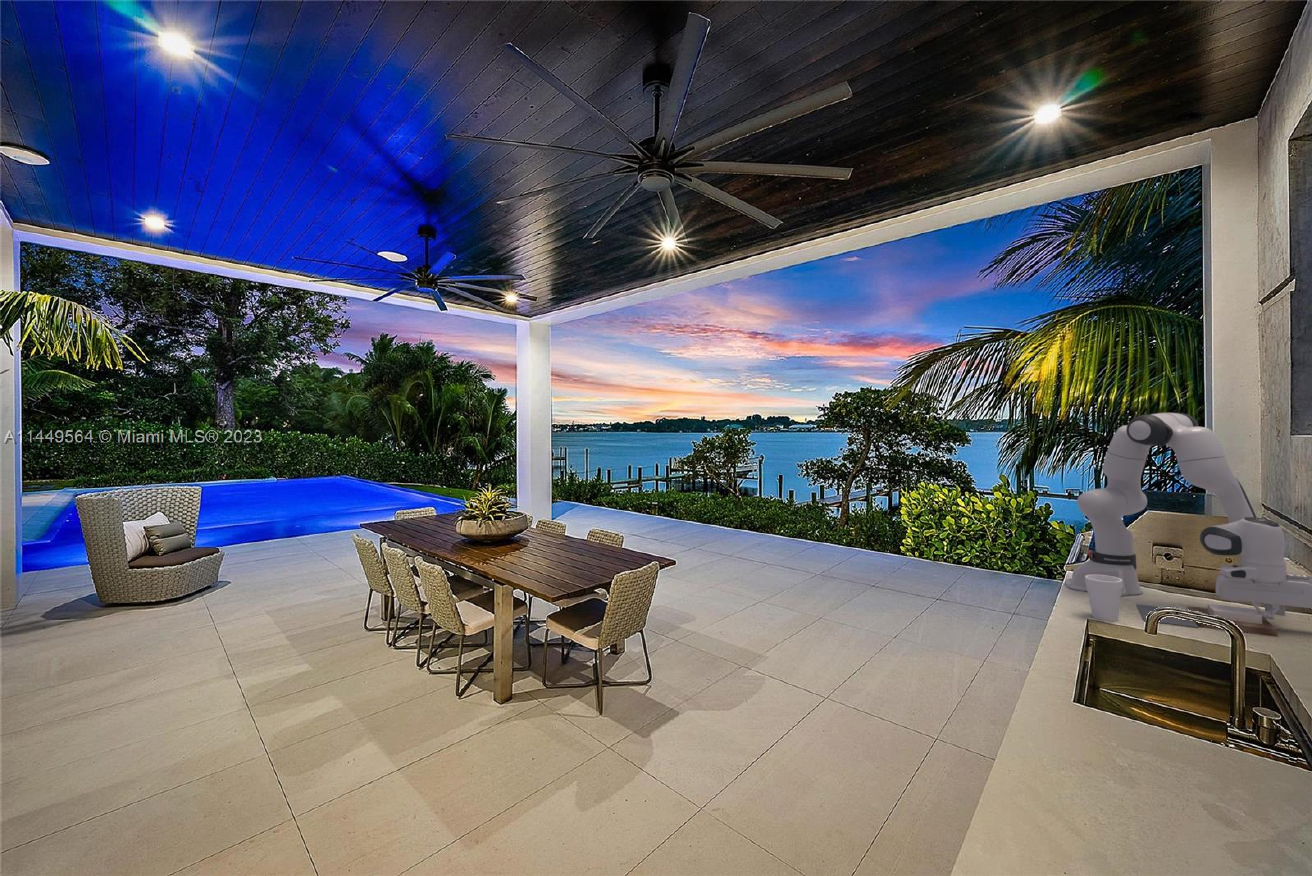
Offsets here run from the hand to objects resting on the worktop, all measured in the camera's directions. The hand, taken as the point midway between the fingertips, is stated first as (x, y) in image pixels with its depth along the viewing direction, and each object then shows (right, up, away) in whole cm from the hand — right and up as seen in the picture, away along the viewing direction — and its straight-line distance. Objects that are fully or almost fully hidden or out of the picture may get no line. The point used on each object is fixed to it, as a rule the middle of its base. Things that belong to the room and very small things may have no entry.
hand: (1266, 617), depth 156 cm
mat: (-18, -4, +13) cm, 22 cm away
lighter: (+14, -3, +12) cm, 19 cm away
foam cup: (-36, -5, +14) cm, 39 cm away
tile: (-5, -1, +4) cm, 7 cm away
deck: (-6, -3, +4) cm, 8 cm away
